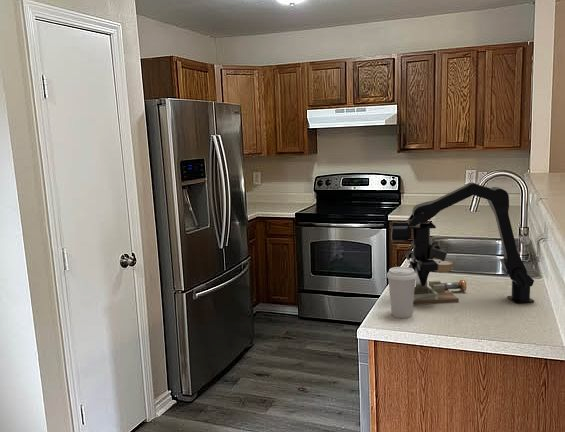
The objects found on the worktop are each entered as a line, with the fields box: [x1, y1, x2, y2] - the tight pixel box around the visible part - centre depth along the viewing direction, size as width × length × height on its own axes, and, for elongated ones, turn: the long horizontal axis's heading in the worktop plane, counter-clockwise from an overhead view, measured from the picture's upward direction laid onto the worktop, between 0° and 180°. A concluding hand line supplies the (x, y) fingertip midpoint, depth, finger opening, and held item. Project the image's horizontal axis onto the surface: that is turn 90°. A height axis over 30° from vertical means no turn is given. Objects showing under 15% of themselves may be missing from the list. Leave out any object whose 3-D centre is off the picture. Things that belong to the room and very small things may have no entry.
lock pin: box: [439, 279, 468, 292], centre depth 186 cm, size 4×9×4 cm, turn 91°
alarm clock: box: [428, 258, 454, 273], centre depth 219 cm, size 11×5×15 cm
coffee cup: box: [386, 266, 417, 319], centre depth 165 cm, size 10×10×15 cm
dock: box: [413, 280, 460, 306], centre depth 182 cm, size 14×16×4 cm
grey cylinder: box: [415, 271, 428, 291], centre depth 179 cm, size 4×4×9 cm
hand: (421, 284), depth 179 cm, fingers closed on grey cylinder, 4 cm apart
